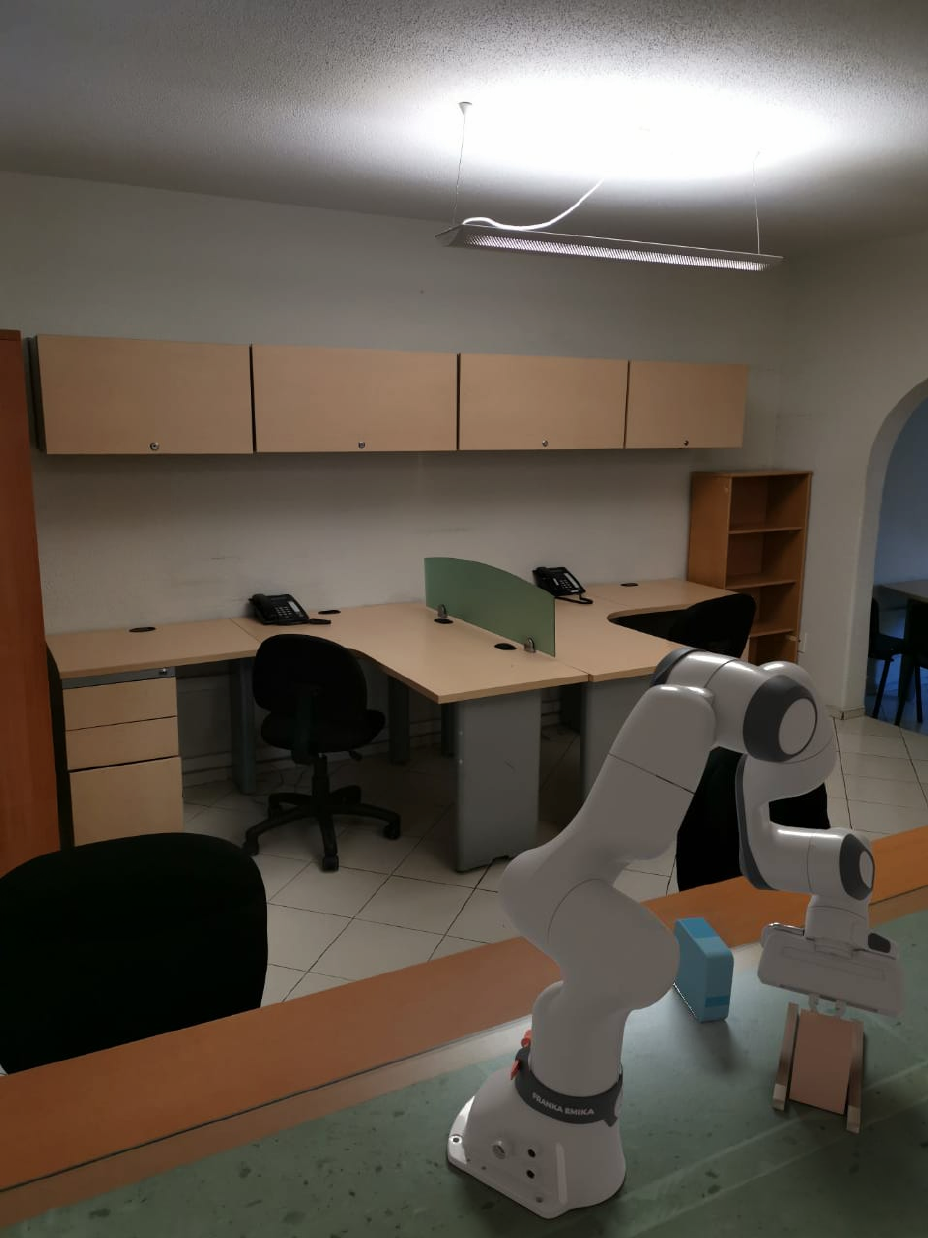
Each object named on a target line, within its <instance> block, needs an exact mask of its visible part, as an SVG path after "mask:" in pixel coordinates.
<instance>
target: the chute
mask: <svg viewBox="0 0 928 1238" xmlns="http://www.w3.org/2000/svg"><path fill="white" fill-rule="evenodd" d="M799 1005H800V1004H798V1003H795V1002H791V1001H789V1002H788V1006H787V1012H786V1018H785V1025H784V1031H783V1037H782V1041H781V1042H782V1043H781V1047H780V1054H779V1060H778V1066H777V1072H776V1076H775V1077H776V1078H775V1079H776V1080H775V1084H774V1092H773V1097H772V1102H771V1103H772V1104H771V1107H772V1108H775V1109H778V1110H781V1111H784V1109H785V1102H786V1097H787V1096H786V1095H787V1089H788V1081H789V1075H790V1068H791V1063H792V1054H793V1050H794V1049H793V1048H794V1042H795V1041H794V1040H795V1034H796V1027H797V1026H796V1025H797V1021H798V1013H799ZM852 1022H853V1041H852V1058H851V1065H850V1072H849V1079H848V1095H847V1097H848V1098H847V1110H846V1113H847V1114H846V1127H845V1128H846V1129H845V1130H846V1131H849V1132H852V1133H855V1134H859V1132H860V1125H861V1106H862V1105H861V1104H862V1081H863V1079H862V1078H863V1077H862V1075H863V1055H864V1054H863V1052H864V1051H863V1049H864V1048H863V1047H864V1024H865V1023H864V1022H865V1021H862V1020H859V1019H856V1018H853V1020H852Z"/></svg>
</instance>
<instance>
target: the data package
mask: <svg viewBox="0 0 928 1238" xmlns="http://www.w3.org/2000/svg"><path fill="white" fill-rule="evenodd" d="M673 928H674V929H673V934H674V935H675V937H676V938H677V940H678V943H679V949H680V965H679V970H678V974H677V977H676V979H675V982H674V983H675V985H676V986H677V988H678V989H679V991H680V993H681V994H682V996H683V997H684V999H685V1001H686V1002H687V1003H688V1005H689V1006H690V1007H691V1009H692V1011H693V1012H694V1014H695V1016H696V1017H697V1019H698V1020H697V1019H696V1020H697V1021H698V1022H699V1023H704V1022H712V1021H721V1020H726V1019H728V1017H729V1014H730V1013H729V1012H730V1004H731V996H732V995H731V992H732V985H733V975H734V965H735V961H734V960H735V959H734V955H733V952H732V951H731V949H730V948H729V947H728V946H727V944H726V942H724V940H723V939H722V938H721V937H720V936H719V935H718V933H717V932H716V931H715V930H714V929H713V928H712V926H711V925H710V924H709V923H708V922H707V920H706V919H705V918H703V917H701V916H700V917H688V918H679V919H675V922H674V927H673ZM685 1001H684V1002H685ZM692 1011H691V1012H692ZM694 1014H693V1015H694ZM695 1016H694V1017H695ZM696 1017H695V1018H696Z"/></svg>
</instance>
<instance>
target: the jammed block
mask: <svg viewBox="0 0 928 1238" xmlns="http://www.w3.org/2000/svg"><path fill="white" fill-rule="evenodd" d="M799 1014H800V1015H799V1020H798V1021H799V1022H798V1027H797V1035H796V1041H795V1050H794V1058H793V1064H792V1065H793V1066H792V1075H791V1081H790V1088H789V1089H790V1090H789V1097H788V1098H789V1099H790V1100H794V1101H795V1102H799V1103H802V1104H806V1105H809V1106H814V1107H817V1108H820V1109H823V1110H826V1111H828V1112H829V1111H830V1112H832V1113H836V1114H839V1115H842V1116H843V1115H844V1114H845V1113H844V1112H845V1106H846V1105H845V1104H846V1099H847V1090H848V1087H849V1073H850V1065H851V1058H852V1041H853V1021H850V1020H846V1019H842V1018H840V1019H839V1018H835V1017H833V1016H831V1015H827V1014H823V1013H820V1012H818V1013H817V1012H813V1011H811V1010H809V1009H805V1008H801V1009H800V1013H799Z"/></svg>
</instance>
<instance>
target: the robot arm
mask: <svg viewBox="0 0 928 1238" xmlns="http://www.w3.org/2000/svg"><path fill="white" fill-rule="evenodd" d="M653 670H654V671H653V673H652V674H651V677H650V682H649V687H648V690H647V691H645V692H644V694H643V695H642V696H641V697H640V699H638V702H637V703H636V704H635V706H634V707H633V709H632V710H631V712H630V713H629V715H628V717H627V718H626V720H625V722H623V725H622V727H620V730H619V732H618V733H617V735H616V738H615V740H614V741H613V743H612V746H611V748H610V750H609V752H608V753H609V754H607V756H606V758H605V760H604V762H603V765H602V767H601V769H600V771H599V773H598V775H597V777H596V780H595V781H594V784H593V785H592V788H591V789H590V791H589V792H588V796H587V797H586V799H585V801H584V803H583V805H582V807H581V808H580V810H579V811H578V812H577V814H576V815H575V817H573V819H572V821H570V823H569V824H567V826H566V827H565V828H564V829H563V830H562V831H561V832H560V833H559V834H558V835H557V836H556V837H554V838H553V839H552V840H550V841H548V842H547V843H545V844H543V845H541V846H539V847H536V848H533V849H528V850H526V851H523V852H521V853H520V854H518V855H517V856H515V857H514V858H513V859H512V860H511V861H510V862H509V863H508V864H507V867H505V870H503V873H502V875H501V877H500V880H499V884H498V889H497V899H498V905H499V907H500V909H501V911H502V912H503V914H504V915H505V916H506V918H507V919H508V921H509V922H510V924H512V926H513V927H514V928H515V929H516V930H517V932H518V933H519V934H520V936H522V937H523V938H525V939H526V940H527V941H528V942H530V943H531V944H533V945H534V946H535V948H537V949H539V950H540V951H542V952H543V954H546V955H547V956H548V957H549V958H551V959H552V960H553V961H554V962H555V963H556V964H557V965H558V968H559V970H560V972H561V975H562V980H560V981H557V982H554V983H551V984H550V985H548V986H547V987H546V988H545V989H544V990H543V991H542V992H541V993H540V994H539V995H538V997H537V998H536V1000H535V1001H534V1003H533V1006H532V1011H531V1027H530V1029H528V1030H527V1031H526V1032H525V1033H524V1035H523V1038H522V1039H521V1041H520V1045H521V1048H520V1049H519V1050H518V1051H517V1053H516V1054H515V1058H514V1064H513V1065H509V1066H506V1067H501V1068H499V1069H497V1070H495V1071H493V1072H492V1074H490V1075H489V1076H488V1077H487V1078H486V1079H485V1081H484V1082H483V1083H482V1085H481V1086H480V1087H479V1089H478V1091H476V1093H475V1094H474V1095H473V1096H472V1097H470V1098H469V1100H468V1101H466V1103H465V1104H464V1105H463V1107H462V1108H461V1109H460V1111H459V1112H458V1114H457V1116H456V1118H455V1119H454V1121H453V1123H452V1125H451V1128H450V1132H449V1135H448V1139H447V1145H446V1146H447V1147H446V1148H447V1149H446V1152H447V1153H446V1154H447V1158H448V1161H449V1162H450V1163H451V1164H452V1165H454V1166H456V1167H457V1168H459V1169H460V1170H462V1171H463V1172H465V1173H467V1174H469V1175H471V1177H473V1178H475V1179H477V1180H479V1181H481V1182H482V1183H484V1184H486V1185H487V1186H488V1187H491V1188H493V1190H496V1191H497V1192H500V1193H501V1194H502V1195H504V1196H506V1197H507V1198H510V1199H511V1200H513V1201H514V1202H516V1203H518V1204H520V1205H521V1206H523V1207H524V1208H527V1209H528V1210H530V1211H531V1212H533V1213H535V1214H537V1215H538V1216H540V1217H542V1218H545V1219H553V1218H557V1217H558V1216H560V1215H562V1214H564V1213H566V1212H568V1211H569V1210H573V1209H577V1208H586V1207H590V1206H594V1205H597V1204H600V1203H603V1202H604V1201H606V1200H608V1199H609V1198H611V1197H612V1196H613V1195H614V1194H615V1193H617V1191H618V1190H619V1189H620V1187H621V1186H622V1184H623V1183H624V1180H625V1176H626V1172H627V1171H626V1170H627V1169H626V1168H627V1165H626V1164H627V1163H626V1159H625V1155H624V1152H623V1147H622V1141H621V1134H620V1122H619V1116H620V1114H621V1112H622V1105H623V1096H624V1095H623V1094H624V1083H623V1080H624V1078H623V1077H624V1068H623V1064H622V1062H621V1060H622V1050H623V1049H622V1048H623V1041H624V1034H625V1027H626V1024H627V1023H626V1022H627V1020H628V1017H629V1016H630V1014H631V1013H632V1012H633V1011H635V1010H642V1009H645V1008H648V1007H651V1006H652V1005H655V1004H656V1003H657V1002H660V1001H661V1000H662V999H663V998H664V997H665V996H666V995H667V994H668V993H669V991H670V990H671V988H672V987H673V984H674V982H675V979H676V977H677V974H678V970H679V965H680V949H679V943H678V940H677V938H676V937H675V935H674V932H672V930H670V928H668V926H666V924H664V922H663V921H662V920H660V918H659V917H658V916H657V915H655V914H654V912H653V911H651V910H650V909H649V908H648V907H647V906H645V905H644V904H642V903H640V902H639V901H637V900H635V899H634V898H632V897H630V896H629V895H627V894H626V893H624V892H623V891H621V890H619V889H618V888H616V887H614V884H615V882H616V880H617V879H618V878H619V876H620V875H621V873H622V872H623V871H624V870H625V869H626V868H627V867H628V866H630V865H631V864H633V863H634V862H637V861H649V860H650V861H651V860H654V859H657V858H660V857H662V856H663V855H664V854H666V853H667V852H668V851H669V850H670V849H671V848H672V845H673V843H674V841H675V839H676V836H677V835H678V833H679V832H678V831H679V829H680V827H681V825H682V822H683V821H684V818H685V816H686V814H687V811H688V809H689V807H690V805H691V802H692V801H693V797H694V796H695V793H696V791H697V788H698V786H699V784H700V782H701V779H702V776H703V774H704V771H705V768H706V765H707V763H708V762H707V761H708V759H709V755H710V752H711V749H712V747H714V746H715V745H716V746H718V747H721V748H724V749H728V750H730V751H733V752H737V753H740V754H742V755H741V757H740V759H739V761H738V763H737V767H736V772H735V779H734V784H735V785H734V786H735V787H734V790H735V791H734V792H735V805H736V816H737V824H738V832H739V833H738V834H739V836H738V837H739V854H738V855H739V856H738V857H739V859H738V861H739V869H740V872H741V875H743V877H744V878H745V879H746V880H747V882H749V884H750V885H751V886H752V887H754V888H755V889H756V890H760V891H776V892H778V891H780V892H781V891H785V892H791V893H792V892H793V893H799V894H807V895H811V899H810V901H809V903H808V905H807V907H806V908H807V909H806V914H805V915H806V916H805V921H804V922H805V923H804V928H803V927H798V926H793V925H786V924H783V923H780V922H773V923H769V924H767V925H765V926H764V927H763V928H762V929H761V933H760V939H759V940H760V942H759V943H760V945H761V947H762V951H761V954H760V958H759V961H758V966H757V971H756V972H757V973H756V974H757V977H758V979H759V982H761V984H764V985H767V986H770V987H774V988H778V989H782V990H785V991H790V992H793V993H796V994H797V993H798V994H802V995H806V996H808V999H807V1000H808V1002H807V1004H808V1007H809V1009H810V1011H813V1012H817V1013H819V1010H818V1008H817V1006H819V1001H820V999H821V1000H824V1001H827V1002H831V1003H835V1005H834V1006H835V1007H834V1010H835V1012H836V1013H835V1014H834V1015H833V1016H832V1017H835V1018H839V1019H842V1017H843V1015H845V1013H846V1010H847V1006H848V1007H850V1008H854V1009H855V1008H856V1009H858V1010H862V1011H866V1012H869V1013H874V1014H878V1015H881V1016H885V1017H889V1018H893V1019H898V1018H899V1017H901V1015H903V1014H904V1012H905V1008H906V984H905V975H904V970H903V967H902V966H901V964H900V963H899V962H898V960H899V958H900V945H899V943H897V942H896V941H894V940H892V939H891V938H888V937H887V936H884V935H883V934H881V933H879V932H877V931H875V930H873V929H872V928H870V918H869V914H868V908H869V905H870V904H869V903H870V901H871V899H872V896H873V891H874V889H873V888H874V883H875V882H874V881H875V875H876V874H875V873H876V872H875V871H876V865H875V859H874V853H873V845H872V842H871V840H870V839H869V838H868V837H867V836H866V835H865V834H863V833H861V832H860V831H858V830H856V829H853V828H850V827H845V826H842V827H841V826H835V827H831V828H828V829H822V828H817V829H816V828H806V827H799V826H797V827H796V826H786V825H782V824H779V823H775V822H773V821H771V818H770V807H769V806H770V805H769V803H770V802H773V801H776V800H781V799H786V798H792V797H793V798H795V797H800V796H802V795H806V794H808V793H811V792H812V791H813V790H816V789H817V788H819V787H820V786H821V785H823V784H824V782H826V780H827V779H828V778H829V777H830V775H831V774H832V772H833V771H834V769H835V766H836V764H837V759H838V758H837V757H838V755H837V753H838V752H837V751H838V750H837V741H836V736H835V732H834V728H833V724H832V721H831V718H830V715H829V713H828V709H827V707H826V705H825V704H826V703H825V702H824V699H823V697H822V695H821V692H820V691H819V688H818V687H817V685H816V683H815V681H814V680H813V679H812V677H811V675H810V674H809V672H808V671H806V670H805V668H803V667H802V666H800V665H799V664H796V663H794V662H790V661H785V660H777V661H776V660H775V661H771V662H765V663H763V664H760V665H759V666H757V665H755V664H752V663H750V662H748V661H747V660H745V659H741V658H738V657H734V656H730V655H725V654H721V653H714V652H709V651H707V650H706V649H703V648H696V647H681V648H676V649H673V650H672V651H670V652H669V653H667V654H666V655H665V656H664V657H663V658H662V659H661V660H660V661H659V662H658V663H657V665H656V667H655V669H653Z"/></svg>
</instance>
